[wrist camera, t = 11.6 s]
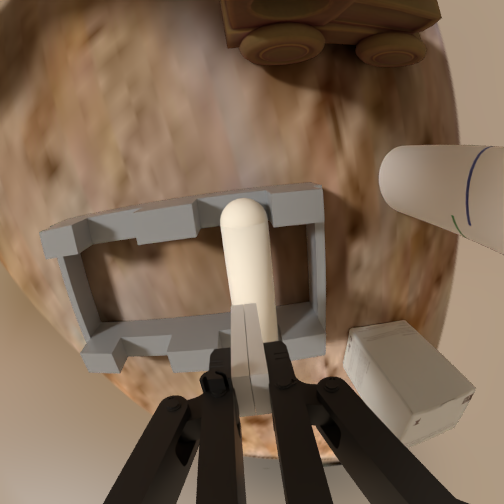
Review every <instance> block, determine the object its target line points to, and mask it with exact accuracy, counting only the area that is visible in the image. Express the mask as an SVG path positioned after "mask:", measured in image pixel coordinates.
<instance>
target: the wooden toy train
mask: <svg viewBox="0 0 504 504" xmlns="http://www.w3.org/2000/svg"><path fill="white" fill-rule="evenodd" d="M220 6H221V12H222V18H223V24H224V30H225V36H226V42H227V48H236V47H240V48H239V50H240V52H241V54H242V55H243V57H244V58H245V59H247V60H249V61H250V62H252V63H255V64H259V65H285V64H293V63H298V62H302V61H305V60H309V59H311V58H313V57H315V56H317V55H318V54H319V53H320V52H321V51H322V50H323V47H324V44H325V43H332V44H349V45H357V46H356V50H355V51H356V55H357V56H358V57H359V59H360V60H362V61H363V62H365V63H366V64H369V65H372V66H378V67H399V66H407V65H412V64H415V63H418V62H420V61H421V60H423V58H424V57H425V55H426V51H427V48H426V46H425V44H424V43H423V42H422V41H421V38H420V35H419V32H421V31H424V30H425V29H427V28H429V27H431V26H433V25H434V24H435V23H436V22H437V21H439V20H440V19H441V18H442V17H441V14H440V10H439V6H438V2H437V0H220Z"/></svg>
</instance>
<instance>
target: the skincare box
mask: <svg viewBox="0 0 504 504" xmlns="http://www.w3.org/2000/svg"><path fill="white" fill-rule="evenodd" d="M343 368H344V369H345V371H346V373H347V374H348V376H349V378H350V379H351V381H352V383H353V385H354V386H355V388H356V390H357V391H358V393H359V395H360V396H361V398H362V400H363V401H364V402H365V404H366V405H367V406H368V407H369V408H370V409H371V410H372V411H373V412H374V413H375V414H376V415H377V417H378V418H379V419H380V420H381V421H382V422H383V423H384V424H385V425H386V426H387V427H388V428H389V429H390V430H391V432H392V433H393V434H394V435H395V436H396V437H397V438H398V439H399V440H400V441H401V442H402V443H403V444H404V445H405V446H406V447H407V448H410V447H413V446H415V445H418V444H420V443H422V442H424V441H427V440H429V439H431V438H433V437H436V436H438V435H440V434H442V433H444V432H446V431H448V430H450V429H452V428H454V427H455V426H456V424H457V423H458V421H459V419H460V418H461V416H462V414H463V412H464V411H465V409H466V407H467V405H468V403H469V401H470V400H471V398H472V395H473V394H474V392H475V389H476V387H474V386H473V384H472V383H471V382H469V381H468V380H467V378H466V377H464V376H463V375H462V374H461V373H460V372H459V371H458V370H457V369H456V368H455V367H454V366H453V365H452V364H451V363H450V362H449V361H448V360H447V359H446V358H445V357H444V356H443V355H442V354H441V353H440V352H439V351H438V350H437V349H436V348H435V347H433V346H432V345H431V344H430V343H429V342H428V341H427V340H426V339H425V338H424V337H423V336H422V335H421V334H419V333H418V332H417V331H416V330H415V329H414V328H413V327H412V326H411V325H410V324H409V323H408V322H406V320H400V321H395V322H389V323H383V324H377V325H370V326H364V327H357V328H350V331H349V336H348V342H347V347H346V351H345V356H344V361H343Z"/></svg>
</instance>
